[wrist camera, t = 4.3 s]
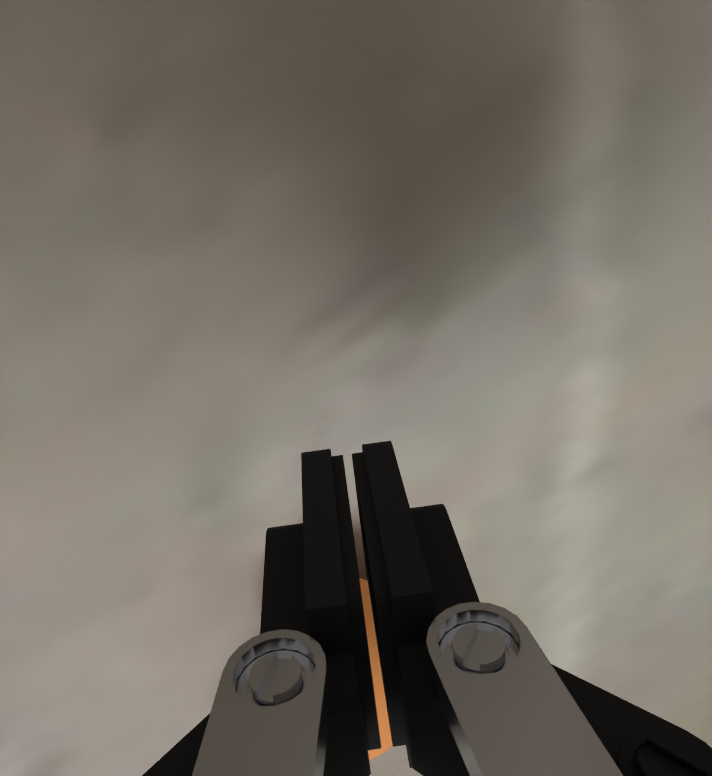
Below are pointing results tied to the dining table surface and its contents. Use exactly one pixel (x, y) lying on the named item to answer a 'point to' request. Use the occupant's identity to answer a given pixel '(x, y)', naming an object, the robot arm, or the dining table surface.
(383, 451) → the robot arm
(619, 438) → the dining table surface
